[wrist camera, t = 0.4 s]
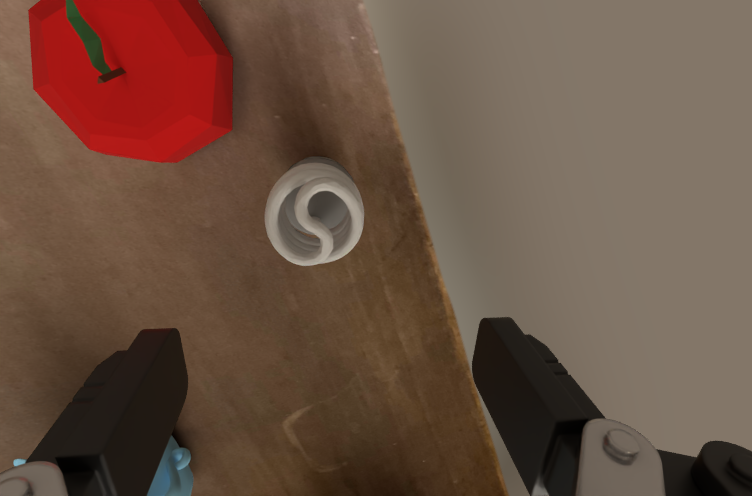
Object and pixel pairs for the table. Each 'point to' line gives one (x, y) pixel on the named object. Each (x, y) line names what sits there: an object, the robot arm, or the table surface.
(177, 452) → the teapot
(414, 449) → the table surface
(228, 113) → the apple
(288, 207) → the light bulb
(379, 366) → the table surface
